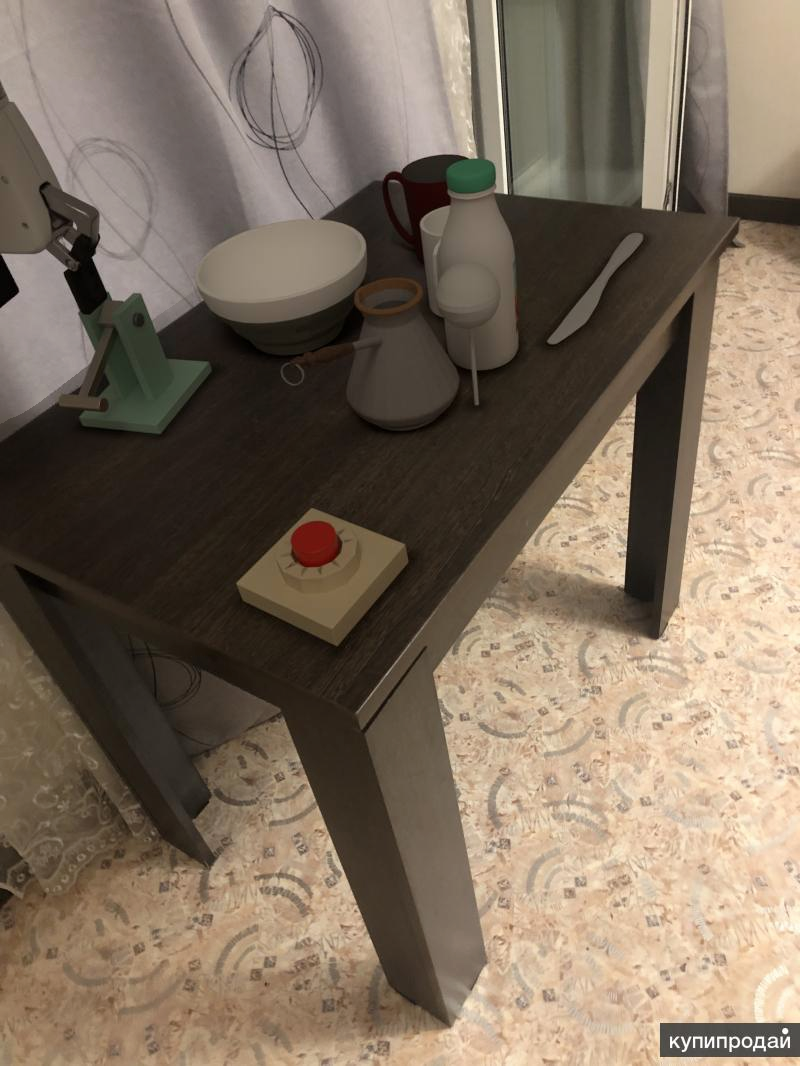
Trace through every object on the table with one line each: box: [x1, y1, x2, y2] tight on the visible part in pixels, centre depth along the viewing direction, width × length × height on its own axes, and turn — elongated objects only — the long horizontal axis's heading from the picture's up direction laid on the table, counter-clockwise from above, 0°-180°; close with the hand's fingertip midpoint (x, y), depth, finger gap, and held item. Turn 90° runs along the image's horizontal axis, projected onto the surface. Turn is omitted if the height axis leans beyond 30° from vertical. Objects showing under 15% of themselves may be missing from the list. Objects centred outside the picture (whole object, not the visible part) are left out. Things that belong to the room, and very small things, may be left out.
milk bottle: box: [439, 157, 519, 371], centre depth 82 cm, size 8×8×20 cm
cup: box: [420, 206, 450, 318], centre depth 93 cm, size 8×12×10 cm
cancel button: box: [291, 521, 339, 567], centre depth 65 cm, size 4×4×2 cm
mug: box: [381, 153, 470, 265], centre depth 104 cm, size 12×9×11 cm
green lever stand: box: [77, 291, 213, 435], centre depth 88 cm, size 12×10×12 cm
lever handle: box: [58, 299, 125, 412], centre depth 83 cm, size 12×5×2 cm, turn 162°
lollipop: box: [435, 262, 501, 406], centre depth 77 cm, size 6×6×15 cm
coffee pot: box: [280, 277, 460, 432], centre depth 76 cm, size 21×12×15 cm, turn 151°
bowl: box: [193, 218, 368, 356], centre depth 94 cm, size 20×20×10 cm
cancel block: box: [235, 507, 409, 647], centre depth 66 cm, size 10×10×4 cm
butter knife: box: [546, 232, 644, 345], centre depth 96 cm, size 1×27×3 cm
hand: (50, 303), depth 71 cm, fingers open, 9 cm apart
